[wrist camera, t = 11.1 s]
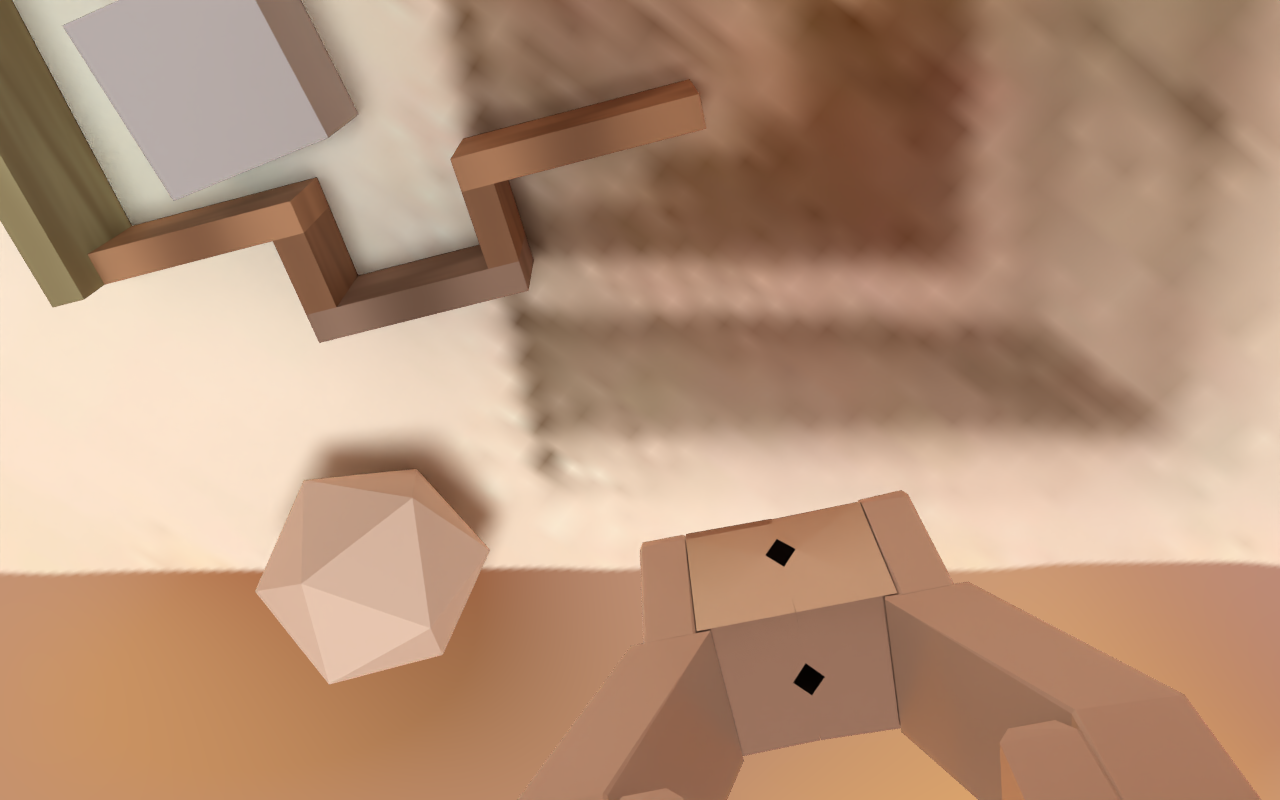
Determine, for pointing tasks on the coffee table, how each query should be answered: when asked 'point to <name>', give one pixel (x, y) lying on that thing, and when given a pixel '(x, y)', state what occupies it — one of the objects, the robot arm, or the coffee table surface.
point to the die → (371, 572)
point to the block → (213, 83)
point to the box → (288, 205)
